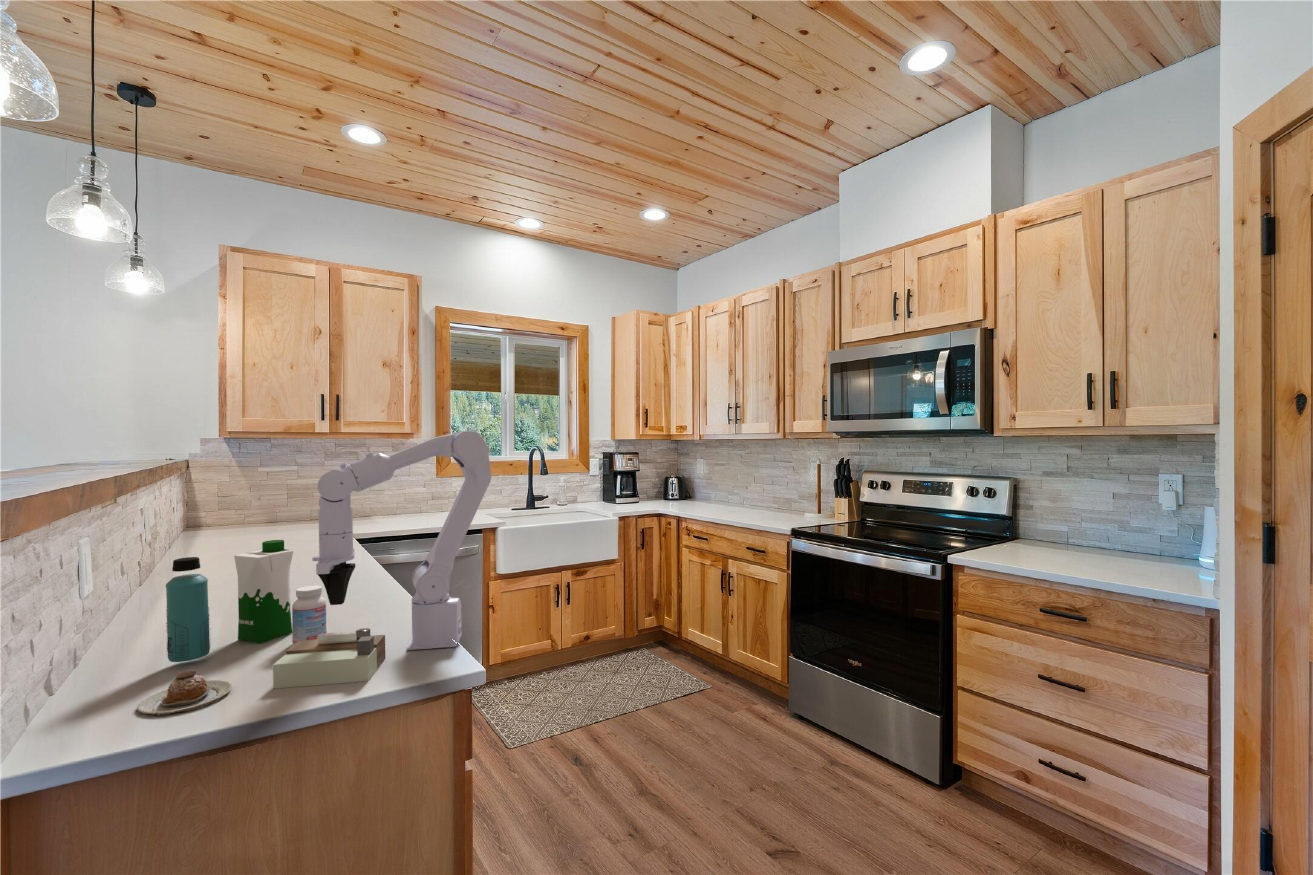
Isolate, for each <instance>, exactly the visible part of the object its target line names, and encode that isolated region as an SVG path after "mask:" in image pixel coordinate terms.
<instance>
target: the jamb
mask: <svg viewBox="0 0 1313 875" xmlns="http://www.w3.org/2000/svg"><path fill="white" fill-rule="evenodd" d="M372 636H374V648H377V670H378V669H379V668H380V667H381V665H382V664H383V663H384V661H385V659H386V634H378V635H377V634H376V635H375V634H374V635H373V634H372ZM349 649H357V642H347V643H333V644H319V645H318V639H315V640H301V641H298V642H297V643H296V644H294V645H293V644H292V646H290V647H289V648H287V650H286V651H285V654H294V653H308V652H322V651H335V650H349Z"/></svg>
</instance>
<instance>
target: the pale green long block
mask: <svg viewBox="0 0 1313 875" xmlns="http://www.w3.org/2000/svg"><path fill="white" fill-rule="evenodd" d="M377 670H378V669H377V648H374V636H373V635H370V636H364V637H361V638H360V639H359V640H358V641H357V649H349V650H335V651H322V652H308V653H294V654H286V653H285V654H284V655H283V656H282V657H280V659H278V660H277V661H275V662H274V663H273V664H272V683H273V684H272V688H273V689H282V688H283V689H284V688H286V689H287V688H297V687H307V686H319V685H320V686H322V685H333V684H343V683H345V684H346V683H356V682H368V681H370V680H371V679H372V677H373V675H374V674H375V673H376V672H377Z"/></svg>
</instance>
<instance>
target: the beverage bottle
mask: <svg viewBox="0 0 1313 875" xmlns="http://www.w3.org/2000/svg"><path fill="white" fill-rule="evenodd" d="M171 569H172V570H171V571H172V572H177V573H179V572H189V571H194V570H195V571H196V570H199V569H201V560H200V558H199V556H198V557H197V556H187V557H180V558H175V559H174V560H173V561H172V568H171ZM208 582H209V578H208V577H206V576H204V575H203V574H202V573H191V574H190V573H189V574H181V575H177V576H174V577H172V578H171V579H170V580H169V581H168V582H166V583H165V588H166V591H165V593H166V609H165V612H166V615H165V616H166V622H165V624H166V625H165V626H166V630H165V631H166V634H167V635H166V641H165V642H166V651H167V653H166V656H167V659H168V661H169V662H170V663H183V662H184V663H185V662H189V661H194V660H198V659H201V658H203V657H206V656H207V655H209V654H210V651H211V649H212V647H211V644H212V642H211V637H210V623H211V622H210V621H211V620H210V619H211V618H210V611H211V610H210V607H209V589H208V588H209V586H208Z"/></svg>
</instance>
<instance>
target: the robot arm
mask: <svg viewBox="0 0 1313 875" xmlns="http://www.w3.org/2000/svg"><path fill="white" fill-rule="evenodd" d="M433 457H445V458H452V459H454V461H455V462H456V463H457V464H458V466H459V468H460V470H461V472H462V474H463V477H464V481H463V483H462V485H461V487H460V490H459V492H458V494H457V495H456V498H455V500H454V502H453V503H452V504H453V505H452V506H451V509H450V510H449V513H448V515H447V516H446V519H445V521H444V524H443V526H442V527H441V529H440V531H439V533H438V535H437V537H436V540H435V541H434V544H433V546H432V548H431V550H430V551H429V552H428V553H427V554H426V556H425V558H424V560H423V562H421V564H419V565H418V566H417V567H416V568H415V569H414V571H413V572H412V575H411V584H412V586H413V587H414V588H415V591H416V592H415V594H414V595H413V597H412V598H411V636H412V637H411V640H410V642H409V643H408V644H407V646H406V651H414V650H428V649H440V648H441V649H443V648H455V647H457V646H458V644H459V642H460V640H461V638H462V635H463V631H462V630H463V627H462V601H461V598H460V597H451V596H450V593H449V590H450V587H451V586H450V584H451V583H450V577H451V575H452V572H453V571H454V564H455V560H456V559H455V558H456V556H457V554H458V552H459V550H460V548H461V546H462V543H463V541H464V539H465V537H466V535H467V533H468V530H469V528H470V526H471V524H472V522H473V520H474V517H475V516H476V513H477V511H478V510H479V507H480V506H481V503H482V500H483V498H484V496H485V494H486V492H487V490H488V488H489V485H490V483H491V480H492V471H491V464H490V448H489V446H488V444H487V442H486V441H485V438H484V437H483V436H482V435H481V434H480V433H479V432H477V431H475V430H464V431H463V430H461V431H456V432H454V433H451V434H450V433H449V434H444V435H439V436H437V437H433V438H430V439H427V440H425V441H423V442H420V443H418V444H415V445H413V446H410V447H408V448H405V449H403V450H400V451H398V452H396V453H393V454H391V455H386V454H384V453H383V452H376V453H373V451H371V452H368V453H366V454H365V457H364V458H361V459H358V460H355V461H352V462H350V463H348V464H347V463H346V462H344V463H340V465H339V467H340V469H330V470H328V471H326V472H324V473H323V475H321V476H320V478H319V480H318V481H317V491H318V493H319V495H320V496H319V499H318V506H319V509H318V548H319V550H318V553H319V554H318V555H315V556H313V557H312V558H311V559H312V562H317V563H316V564H315V566H316V567H315V568H316V570H315V571H316V575H317V576H318V577H319V579H320V580H321V582H322V584H323V586H324V588H325V592H326V596H327V599H328V603H329V605H330V606H339V605H343V604H344V603H345V600H346V598H347V597H346V596H347V592H348V588H349V583H350V580H351V577H352V574H353V572H354V571H355V568H356V563H355V562H354V563H353V562H351V563H348V562H349V561H352V560H354V559H355V548H354V528H353V527H354V526H353V525H354V523H353V522H354V518H353V516H354V515H353V507H352V506H351V494H352V493H353V492H358V493H359V492H362V491H365V490H367V489H369V488H372V487H375V486H376V485H377V486H378V485H379V484H382V483H384V482H387V481H390V480H391V479H392V478H393V476H394V473H395V471H396V470H400V469H402V468H405V467H408V466H410V465H414V464H416V463H419V462H423V461H425V460H427V459H431V458H433ZM452 639H453V640H455V642H457V643H458V644H456V643H455V642H454V641H453V640H452Z"/></svg>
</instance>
